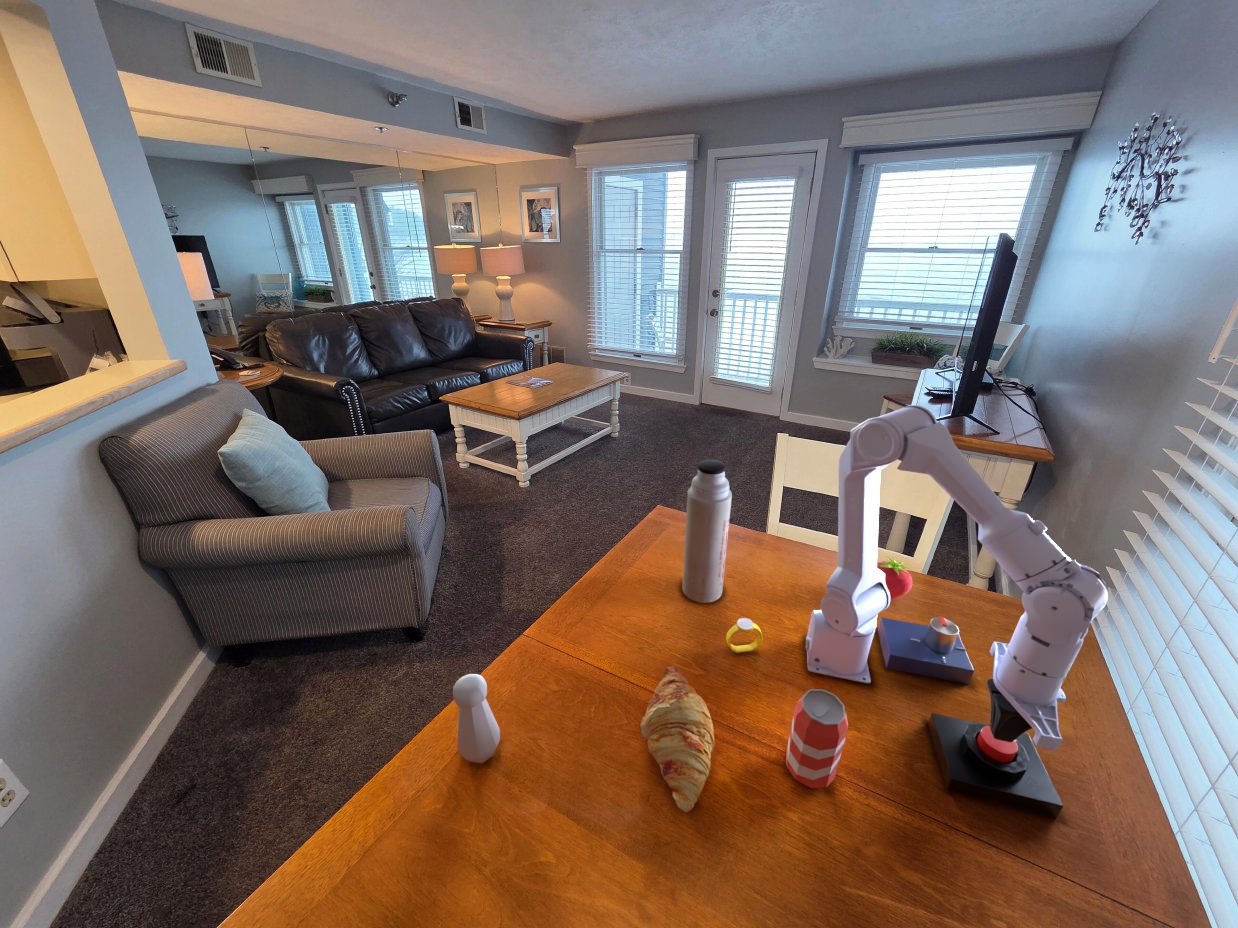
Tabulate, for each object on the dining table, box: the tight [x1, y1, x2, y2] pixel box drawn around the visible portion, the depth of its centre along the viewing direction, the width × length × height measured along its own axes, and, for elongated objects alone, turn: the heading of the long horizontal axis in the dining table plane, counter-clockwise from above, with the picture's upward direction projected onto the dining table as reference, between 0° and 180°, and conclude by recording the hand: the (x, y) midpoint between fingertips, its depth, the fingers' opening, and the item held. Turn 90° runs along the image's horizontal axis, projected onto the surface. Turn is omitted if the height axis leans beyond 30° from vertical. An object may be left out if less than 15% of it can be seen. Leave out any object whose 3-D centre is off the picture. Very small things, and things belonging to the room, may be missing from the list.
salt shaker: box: [452, 673, 501, 765], centre depth 67 cm, size 6×6×13 cm
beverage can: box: [785, 688, 849, 789], centre depth 65 cm, size 6×6×12 cm
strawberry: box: [877, 556, 913, 601], centre depth 96 cm, size 6×8×10 cm
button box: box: [927, 712, 1064, 818], centre depth 67 cm, size 12×10×4 cm
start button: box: [977, 726, 1018, 763], centre depth 66 cm, size 4×4×2 cm
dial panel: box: [877, 617, 975, 685], centre depth 84 cm, size 12×9×3 cm
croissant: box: [639, 666, 715, 813], centre depth 70 cm, size 21×10×8 cm, turn 1°
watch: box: [725, 617, 764, 654], centre depth 85 cm, size 6×3×6 cm, turn 95°
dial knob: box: [925, 615, 960, 653], centre depth 82 cm, size 4×4×4 cm
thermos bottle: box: [681, 459, 733, 604], centre depth 95 cm, size 8×8×28 cm
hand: (1001, 735), depth 65 cm, fingers closed
